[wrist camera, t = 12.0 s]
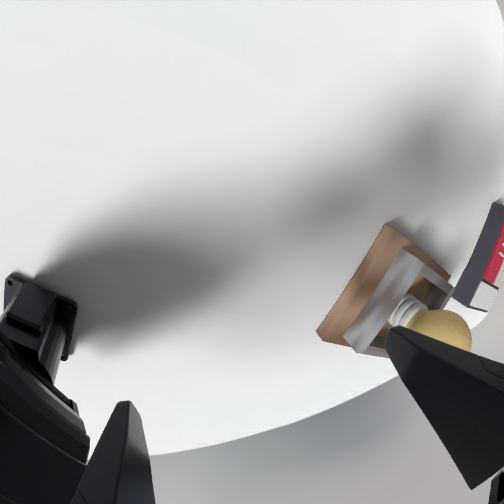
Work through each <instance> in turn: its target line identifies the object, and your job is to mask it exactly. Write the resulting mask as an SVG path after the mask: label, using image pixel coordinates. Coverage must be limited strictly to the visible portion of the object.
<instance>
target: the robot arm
mask: <svg viewBox="0 0 504 504" xmlns="http://www.w3.org/2000/svg"><path fill="white" fill-rule="evenodd" d="M10 281H12V283H13V284H12V283H11V282H10ZM69 306H72V307H73V308H74V309H72V308H70V307H69ZM77 309H78V305H77V303H76V302H74V301H72V300H70V299H67V298H65V297H62V296H59V295H57V294H55V293H53V292H50V291H48V290H45V289H43V288H41V287H38V286H36V285H34V284H31V283H29V282H26V281H24V280H22V279H20V278H17V277H15V276H13V275H9V276H8V277H7V278H6V279H5V290H4V312H3V313H2V315H1V317H0V504H155V497H154V490H153V483H152V474H151V466H150V459H149V454H148V450H147V445H146V441H145V436H144V431H143V425H142V420H141V417H140V414H139V413H138V411H137V410H136V408H135V407H134V405H133V403H132V402H131V401H120V402H118V403H117V405H116V407H115V409H114V411H113V413H112V415H111V417H110V419H109V421H108V423H107V425H106V427H105V429H104V431H103V433H102V435H101V437H100V439H99V441H98V443H97V446H96V448H95V450H94V452H93V454H92V456H91V458H90V460H89V463H88V465H86V462H87V458H88V454H89V450H90V437H89V436H88V435H86V430H85V427H84V423H83V421H82V419H81V418H80V416H79V412H78V408H77V404H76V403H75V402H74V401H73V400H71V399H68V398H67V397H66V396H65V395H64V394H63V393H61V392H60V391H59V390H58V389H57V388H56V387H55V386H54V383H55V378H56V374H57V370H58V366H59V362H60V360H62V361H66V360H67V359H68V356H69V350H70V344H71V339H72V333H73V328H74V323H75V319H76V314H77ZM385 350H386V352H387V354H388V356H389V357H390V359H391V361H392V363H393V365H394V367H395V369H396V370H397V372H398V374H399V376H400V378H401V380H402V381H403V383H404V384H405V386H406V387H407V388H408V390H409V392H410V393H411V394H412V396H413V398H414V399H415V401H416V402H417V404H418V405H419V407H420V408H421V410H422V411H423V413H424V414H425V416H426V417H427V419H428V421H429V422H430V424H431V425H432V427H433V428H434V430H435V431H436V433H437V435H438V436H439V438H440V439H441V441H442V443H443V444H444V446H445V447H446V449H447V451H448V452H449V454H450V455H451V458H452V459H453V461H454V462H455V464H456V466H457V467H458V469H459V471H460V473H461V474H462V476H463V478H464V479H465V481H466V483H467V485H468V486H469V488H470V489H471V490H472V489H474V488H476V487H477V486H478V485H480V484H481V483H483V482H484V481H486V480H487V479H488V478H489V477H491V476H492V475H493V474H495V473H496V472H498V471H499V470H500V469H501V471H500V472H499V473H498V474H497V475H496V476H495V477H494V479H493V480H492V481H491V489H490V496H489V503H488V504H504V364H502V363H499V362H496V361H493V360H490V359H487V358H484V357H482V356H478V355H476V354H474V353H471V352H468V351H466V350H463V349H460V348H458V347H455V346H453V345H450V344H447V343H445V342H442V341H439V340H437V339H434V338H432V337H429V336H426V335H424V334H421V333H419V332H416V331H414V330H411V329H408V328H406V327H403V326H400V325H397V326H394V327H392V328H390V329H389V331H388V334H387V338H386V341H385ZM63 355H64V356H63Z"/></svg>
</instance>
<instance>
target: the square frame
mask: <svg viewBox="0 0 504 504" xmlns="http://www.w3.org/2000/svg"><path fill="white" fill-rule="evenodd" d="M450 277H451V276H450V275H449V274H448V273H447V272H446V271H445V270H444V269H442V268H441V267H440V266H439V265H438V264H437V263H436V262H434V261H433V260H432V259H431V258H430V257H429V256H427V255H426V254H425V253H424V252H423V251H421V250H420V249H419V248H418V247H417V246H415V245H414V244H413V243H412V242H410V241H409V240H408V239H407V238H405V237H404V236H403V235H402V234H400V233H399V232H398V231H397V230H395V229H393V228H392V227H390V226H388V225H386V224H384V226H383V228H382V230H381V231H380V233H379V235H378V237H377V238H376V240H375V242H374V243H373V245H372V247H371V248H370V250H369V252H368V253H367V255H366V257H365V258H364V260H363V262H362V263H361V265H360V266H359V268H358V270H357V271H356V273H355V274H354V276H353V277H352V279H351V281H350V282H349V284H348V285H347V287H346V288H345V290H344V291H343V293H342V294H341V296H340V297H339V299H338V300H337V302H336V303H335V305H334V306H333V308H332V309H331V311H330V312H329V313H328V315H327V316H326V318H325V319H324V321H323V322H322V323H321V325H320V326H319V328H318V329H317V331H316V332H317V334H318V335H319V336H320V338H321V339H322V341H325V342H329V343H334V344H339V345H343V346H348V347H352V348H353V349H354V351H355V352H356V353H361V354H367V355H373V356H379V357H385V358H390V357H389V356H388V354H387V352H386V350H385V341H386V338H387V334H388V331H389V329H390V328H392V327H393V326H392V325H391V324H390V323H389V322H388V319H389V317H390V316H391V315H392V313H393V312H394V310H395V309H396V307H397V306H398V304H399V303H400V301H401V300H402V298H403V297H404V295H405V294H406V293H409V294H412V295H413V296H414V297H415V298H416V299H418V300H419V301H420V302H421V303H422V304H424V305H425V306H426V307H427V308H428V311H431V310H443V309H444V307H445V305H446V304H447V302H448V301H449V299H450V298H451V296H452V294H453V293H454V291H455V290H456V289H455V288H454V287H453V286H452V285H451V284H449V283H448V280H449V279H450Z"/></svg>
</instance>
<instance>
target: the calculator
mask: <svg viewBox="0 0 504 504" xmlns="http://www.w3.org/2000/svg"><path fill="white" fill-rule="evenodd" d="M503 283H504V206H502V205H499V204H497V203H494V202H493V203H492V206H491V209H490V211H489V214H488V217H487V219H486V222H485V224H484V227H483V229H482V232H481V234H480V237H479V239H478V242H477V244H476V247H475V249H474V252H473V254H472V257H471V259H470V262H469V264H468V266H467V268H466V269H465V270H464V271H463V273H462V275H461V277H460V279H459V281H458V283H457V285H456V287H455V289H456V290H455V291H454V293H453V294H452V296H451V297H452V298H454V299H455V300H457V301H458V302H460V303H461V304H463V305H464V306H466V307H467V308H471V309H475V310H479V311H483V312H487V311H489V310H490V308H491V306H492V304H493V302H494V300H495V298H496V296H497V294H498V289H499V288H501V287H502V285H503Z"/></svg>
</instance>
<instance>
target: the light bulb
mask: <svg viewBox="0 0 504 504" xmlns="http://www.w3.org/2000/svg"><path fill="white" fill-rule="evenodd" d="M388 322H389V323H390V324H391V325H392V326H393V327H394V326H397V325H400V326H403V327H406V328H408V329H411V330H414V331H416V332H419V333H421V334H424V335H426V336H429V337H432V338H434V339H437V340H439V341H442V342H445V343H447V344H450V345H453V346H455V347H458V348H460V349H463V350H466V351H468V352H470V349H471V344H472V338H471V332H470V329H469V327H468V325H467V323H466V322H465V320H464V319H463V318H462V317H461V316H460V315H458V314H457V313H454V312H452V311H448V310H431V311H428V308H427V307H426V306H425V305H424V304H422V303H421V302H420V301H419V300H418V299H416V298H415V297H414V296H413V295H412V294H409V293H406V294H405V295H404V297H403V298H402V300H401V301H400V303H399V304H398V306H397V307H396V309H395V310H394V312H393V313H392V315H391V316H390V317H389V319H388Z"/></svg>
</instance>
